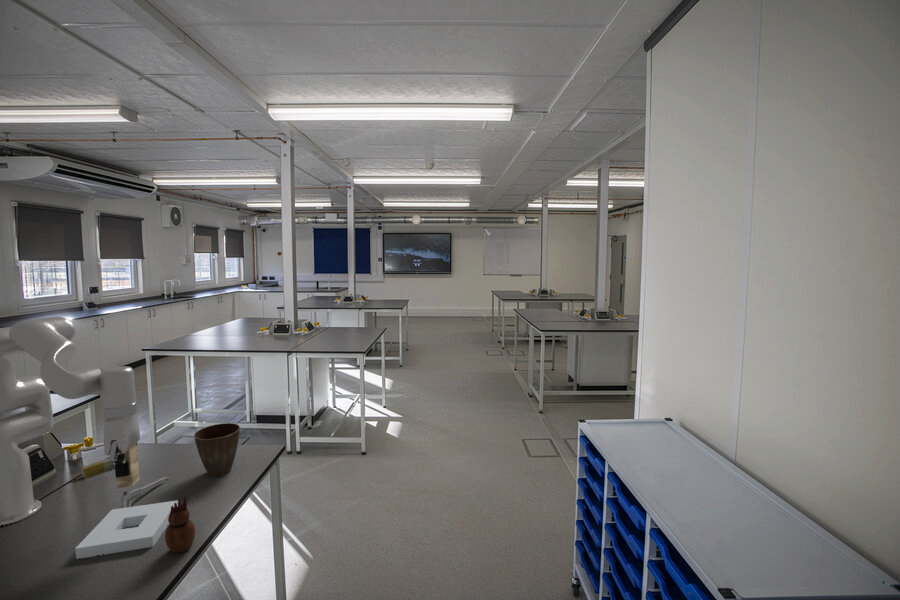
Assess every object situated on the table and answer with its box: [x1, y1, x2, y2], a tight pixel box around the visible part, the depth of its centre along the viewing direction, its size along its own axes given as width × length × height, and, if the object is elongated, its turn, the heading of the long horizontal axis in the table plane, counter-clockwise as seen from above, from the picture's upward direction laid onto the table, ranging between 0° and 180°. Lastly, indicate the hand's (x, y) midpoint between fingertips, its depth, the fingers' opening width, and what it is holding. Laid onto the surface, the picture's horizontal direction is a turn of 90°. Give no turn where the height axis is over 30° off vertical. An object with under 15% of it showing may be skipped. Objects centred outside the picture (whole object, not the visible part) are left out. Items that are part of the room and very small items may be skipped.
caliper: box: [120, 476, 169, 508], centre depth 141 cm, size 20×1×6 cm, turn 178°
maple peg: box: [114, 443, 141, 489], centre depth 119 cm, size 4×4×12 cm
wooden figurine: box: [164, 494, 196, 554], centre depth 113 cm, size 7×6×15 cm
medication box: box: [81, 458, 115, 479], centre depth 157 cm, size 12×3×4 cm, turn 145°
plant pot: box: [193, 422, 241, 477], centre depth 155 cm, size 15×15×16 cm
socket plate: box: [74, 499, 178, 560], centre depth 121 cm, size 18×18×3 cm
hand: (127, 471), depth 119 cm, fingers closed on maple peg, 4 cm apart
